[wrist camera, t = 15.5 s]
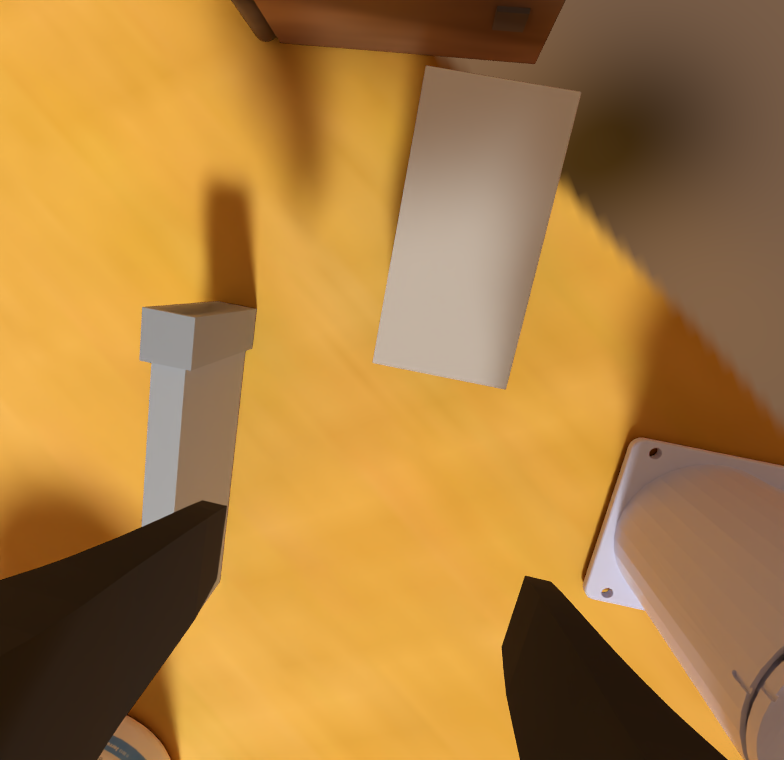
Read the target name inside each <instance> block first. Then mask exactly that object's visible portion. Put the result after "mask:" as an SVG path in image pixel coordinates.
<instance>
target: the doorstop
mask: <svg viewBox="0 0 784 760" xmlns="http://www.w3.org/2000/svg"><path fill="white" fill-rule="evenodd" d="M580 95H581V92H579V91H573V90H567V89H561V88H555V87H550V86H544V85H538V84H532V83H526V82H520V81H514V80H509V79H503V78H497V77H491V76H485V75H479V74H474V73H468V72H462V71H456V70H450V69H444V68H439V67H433V66H427V65H426V68H425V73H424V79H423V84H422V90H421V96H420V101H419V107H418V112H417V118H416V123H415V129H414V135H413V140H412V146H411V151H410V157H409V163H408V168H407V174H406V179H405V185H404V190H403V196H402V202H401V207H400V213H399V218H398V224H397V229H396V235H395V241H394V246H393V252H392V257H391V263H390V268H389V274H388V280H387V285H386V291H385V296H384V302H383V307H382V313H381V319H380V324H379V330H378V335H377V341H376V346H375V352H374V358H373V363H376V364H381V365H386V366H391V367H396V368H401V369H406V370H411V371H416V372H421V373H426V374H431V375H436V376H441V377H446V378H451V379H456V380H461V381H466V382H471V383H476V384H481V385H486V386H491V387H496V388H501V389H506V387H507V383H508V379H509V375H510V371H511V367H512V363H513V359H514V355H515V351H516V347H517V343H518V339H519V336H520V332H521V328H522V324H523V320H524V316H525V312H526V308H527V304H528V300H529V296H530V292H531V288H532V284H533V280H534V277H535V273H536V269H537V265H538V261H539V257H540V253H541V249H542V245H543V241H544V237H545V233H546V229H547V225H548V221H549V217H550V214H551V210H552V206H553V202H554V198H555V194H556V190H557V186H558V182H559V178H560V174H561V170H562V166H563V162H564V158H565V154H566V151H567V147H568V143H569V138H570V134H571V131H572V127H573V123H574V119H575V115H576V111H577V107H578V103H579V99H580Z"/></svg>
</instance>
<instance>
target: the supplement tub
mask: <svg viewBox="0 0 784 760" xmlns="http://www.w3.org/2000/svg"><path fill="white" fill-rule="evenodd" d="M98 760H171V759H170V757H169V755H168V753H167V751H166V749H165V748H164V746H163V745H162V743H161V742H160V741H159V740H158V738H157V737H156V736H155V735H154V734H153V733H152V732H151V731H149V730H148V729H147V728H146V727H145V726H144V725H142V724H140V723H139V722H137V721H136V720H134V719H133V718H131V717H129V716H127V715H126V717H125V718H124V719H123V721H122V722H121V724H120V725H119V727H118V728H117V730H116V731H115V733H114V734H113V736H112V737H111V739H110V740H109V742H108V743H107V745H106V747H105V748H104V750H103V752H102V753H101V755H100V756H99V758H98Z"/></svg>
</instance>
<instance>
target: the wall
mask: <svg viewBox="0 0 784 760" xmlns="http://www.w3.org/2000/svg"><path fill="white" fill-rule="evenodd" d="M256 310H257V309H255V308H250V307H245V306H240V305H235V304H230V303H224V302H219V301H213V302H200V303H188V304H175V305H163V306H151V307H142V324H141V343H140V361H145V362H150V363H152V365H151V381H150V398H149V414H148V431H147V447H146V464H145V480H144V496H143V513H142V527H143V526H145V525H147V524H150V523H152V522H154V521H156V520H159V519H161V518H163V517H165V516H167V515H169V514H172V513H174V512H176V511H178V510H180V509H183V508H185V507H187V506H189V505H192V504H194V503H197V502H199V501H202V500H204V501H208V502H212V503H217V504H221V505H225V506H227V511H226V518H225V525H224V532H223V540H222V547H221V554H220V561H219V568H218V575H217V580H216V582H215V584H214V586H213V588H212V589H211V591H210V593H209V595H208V597H207V599H208V598H209V596H210V595H211V594H212V592H213V591H214V589H215V588H216V586H217V585H218V584H219V582H220V576H221V567H222V558H223V549H224V540H225V531H226V522H227V513H228V503H229V494H230V485H231V476H232V467H233V458H234V449H235V440H236V431H237V422H238V413H239V404H240V395H241V386H242V376H243V367H244V358H245V351H247V350H249V349H252V345H253V337H254V328H255V319H256ZM207 599H206V601H207ZM206 601H205V602H206ZM205 602H204V603H205ZM203 605H204V604H203Z"/></svg>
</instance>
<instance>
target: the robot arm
mask: <svg viewBox="0 0 784 760" xmlns="http://www.w3.org/2000/svg"><path fill="white" fill-rule="evenodd" d="M653 448H657V453H656V454H655V455H653V456H649V452H650V451H651V449H653ZM226 511H227V506H225V505H221V504H217V503H212V502H208V501H204V500H202V501H199V502H197V503H194V504H192V505H189V506H187V507H185V508H183V509H180V510H178V511H176V512H174V513H172V514H169V515H167V516H165V517H163V518H161V519H159V520H156V521H154V522H152V523H150V524H147V525H145V526H143V527H141V528H138V529H136V530H134V531H132V532H129V533H127V534H125V535H123V536H120V537H118V538H115V539H113V540H110V541H108V542H105V543H103V544H101V545H98V546H96V547H93V548H91V549H88V550H86V551H83V552H81V553H78V554H76V555H73V556H71V557H68V558H65V559H62V560H60V561H57V562H54V563H51V564H48V565H46V566H43V567H40V568H37V569H34V570H31V571H27V572H24V573H21V574H18V575H15V576H12V577H9V578H6V579H2V580H0V760H98V758H99V756H100V755H101V753H102V752H103V750H104V748H105V747H106V745H107V743H108V742H109V740H110V739H111V737H112V736H113V734H114V733H115V731H116V730H117V728H118V727H119V725H120V724H121V722H122V721H123V719H124V718H125V717H126V715H127V714H128V712H129V711H130V710H131V708H132V707H133V705H134V704H135V703H136V701H137V700H138V698H139V697H140V696H141V694H142V693H143V692H144V690H145V689H146V687H147V686H148V685H149V683H150V682H151V680H152V679H153V678H154V676H155V675H156V673H157V672H158V671H159V669H160V668H161V666H162V665H163V664H164V662H165V661H166V660H167V658H168V657H169V655H170V654H171V653H172V651H173V650H174V648H175V647H176V646H177V644H178V643H179V641H180V640H181V638H182V637H183V636H184V634H185V633H186V631H187V630H188V629H189V627H190V626H191V624H192V623H193V621H194V620H195V618H196V616H197V615H198V613H199V611H200V609H201V608H202V606H203V604H204V602H205V601H206V599H207V597H208V595H209V593H210V591H211V589H212V588H213V586H214V584H215V582H216V580H217V575H218V568H219V561H220V554H221V547H222V540H223V532H224V525H225V518H226ZM605 588H610V589H609V590H608V591H607V592H602V590H603V589H605ZM583 589H584V591H585V593H586V595H587V596H588V597H589V598H591V599H595V600H599V601H604V602H608V603H613V604H618V605H622V606H627V607H631V608H636V609H641V610H645V611H646V612H647V614H648V616H649V617H650V619H651V620H652V622H653V623H654V625H655V626H656V628H657V629H658V631H659V632H660V634H661V635H662V637H663V638H664V640H665V641H666V643H667V644H668V646H669V647H670V649H671V650H672V652H673V653H674V655H675V656H676V658H677V659H678V661H679V662H680V664H681V665H682V667H683V668H684V670H685V672H686V673H687V675H688V676H689V678H690V679H691V681H692V682H693V684H694V685H695V687H696V688H697V690H698V691H699V693H700V694H701V696H702V697H703V699H704V700H705V702H706V703H707V705H708V706H709V708H710V709H711V711H712V712H713V714H714V715H715V717H716V718H717V720H718V721H719V723H720V724H721V726H722V728H723V729H724V731H725V732H726V734H727V735H728V737H729V738H730V740H731V741H732V743H733V744H734V746H735V747H736V749H737V750H738V752H739V753H740V755H741V756H742V758H743V759H744V760H784V466H782V465H777V464H772V463H767V462H762V461H757V460H752V459H747V458H742V457H737V456H732V455H728V454H723V453H718V452H713V451H708V450H703V449H698V448H693V447H688V446H683V445H678V444H673V443H668V442H663V441H658V440H653V439H648V438H636V439H634V440H633V441H631V442H630V444H629V446H628V449H627V452H626V455H625V458H624V461H623V464H622V467H621V470H620V473H619V476H618V479H617V482H616V485H615V488H614V491H613V494H612V497H611V500H610V503H609V506H608V509H607V512H606V515H605V519H604V522H603V525H602V528H601V531H600V534H599V537H598V540H597V543H596V546H595V549H594V552H593V555H592V558H591V561H590V564H589V567H588V570H587V573H586V576H585V579H584V582H583ZM502 657H503V669H504V679H505V688H506V696H507V701H508V706H509V711H510V715H511V720H512V725H513V729H514V734H515V739H516V743H517V748H518V752H519V757H520V760H728V759H726V758H725V757H724V756H723V755H722V754H721V753H720V752H718V751H717V750H716V749H715V748H714V747H713V746H712V745H711V744H710V743H708V742H707V741H706V740H705V739H704V738H703V737H702V736H701V735H699V734H698V733H697V732H696V731H695V730H694V729H693V728H692V727H691V726H689V725H688V724H687V723H686V722H685V721H684V720H683V719H682V718H681V717H680V716H679V715H678V714H677V713H675V712H674V711H673V710H672V709H671V708H670V707H669V706H668V705H667V704H666V703H665V702H664V701H663V700H662V699H661V698H660V697H659V696H658V695H657V694H656V693H655V692H654V691H653V690H652V689H651V688H650V687H649V686H648V685H647V684H646V683H645V682H644V681H643V680H642V679H641V678H640V677H639V676H638V675H637V674H636V673H635V672H634V671H633V670H632V669H631V668H630V667H629V666H628V665H627V663H626V662H625V661H624V660H623V659H622V658H621V657H620V656H619V655H618V654H617V653H616V652H615V651H614V650H613V649H612V647H611V646H610V645H609V644H608V643H607V642H606V641H605V640H604V639H603V638H602V637H601V635H600V634H599V633H598V632H597V631H596V630H595V629H594V628H593V627H592V626H591V624H590V623H589V622H588V621H587V620H586V619H585V618H584V617H583V615H582V614H581V613H580V612H579V611H578V610H577V609H576V608H575V607H574V605H573V604H572V603H571V602H570V601H569V600H568V599H567V598H566V597H565V596H564V595H563V593H562V592H561V591H560V590H559V589H558V588H557V587H556V586H555V585H554V584H553V583H552V582H550V581H546V580H541V579H537V578H533V577H529V576H525V578H524V581H523V584H522V587H521V590H520V593H519V596H518V599H517V602H516V605H515V608H514V611H513V614H512V617H511V620H510V623H509V626H508V629H507V632H506V635H505V638H504V641H503V645H502Z"/></svg>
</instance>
